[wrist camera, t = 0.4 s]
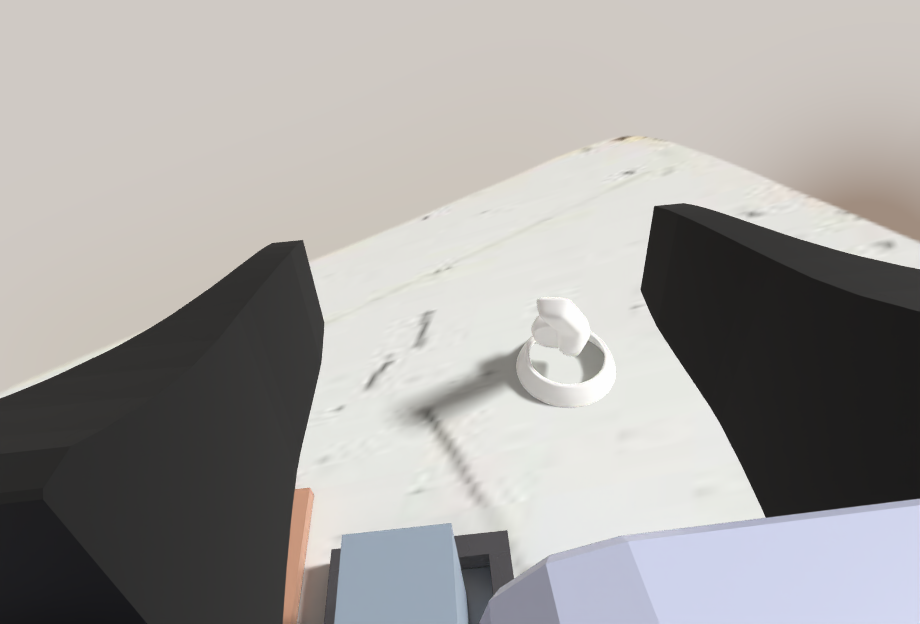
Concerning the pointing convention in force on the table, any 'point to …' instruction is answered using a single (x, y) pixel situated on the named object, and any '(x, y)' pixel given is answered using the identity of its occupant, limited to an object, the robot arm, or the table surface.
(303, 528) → the terracotta tile
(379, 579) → the metal peg
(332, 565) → the iron collar
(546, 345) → the white handled ring
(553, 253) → the table surface
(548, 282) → the table surface
